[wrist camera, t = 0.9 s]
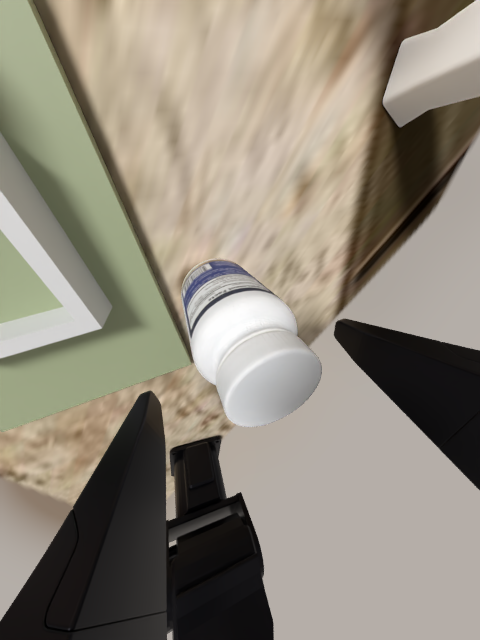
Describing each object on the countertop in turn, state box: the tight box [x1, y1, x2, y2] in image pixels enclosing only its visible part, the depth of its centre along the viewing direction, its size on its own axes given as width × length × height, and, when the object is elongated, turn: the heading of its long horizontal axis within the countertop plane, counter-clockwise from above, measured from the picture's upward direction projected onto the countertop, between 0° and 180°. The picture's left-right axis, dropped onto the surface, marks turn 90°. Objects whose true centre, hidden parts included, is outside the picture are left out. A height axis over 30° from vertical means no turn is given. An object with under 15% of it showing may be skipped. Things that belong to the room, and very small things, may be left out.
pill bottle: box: [181, 259, 322, 427], centre depth 11 cm, size 5×5×10 cm
